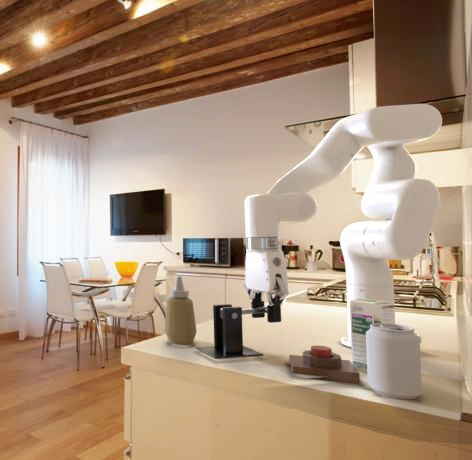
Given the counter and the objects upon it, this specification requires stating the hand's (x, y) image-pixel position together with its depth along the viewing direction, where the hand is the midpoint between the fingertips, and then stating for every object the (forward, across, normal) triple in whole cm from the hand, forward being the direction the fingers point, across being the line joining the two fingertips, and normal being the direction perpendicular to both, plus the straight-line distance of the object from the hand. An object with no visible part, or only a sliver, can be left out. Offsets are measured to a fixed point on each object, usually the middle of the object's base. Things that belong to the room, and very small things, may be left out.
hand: (266, 318), depth 100 cm
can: (+9, -28, -5) cm, 29 cm away
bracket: (+8, 0, +10) cm, 13 cm away
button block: (+8, -16, 0) cm, 18 cm away
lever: (-1, 0, +5) cm, 6 cm away
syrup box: (+9, -16, -13) cm, 22 cm away
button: (+5, -16, -1) cm, 17 cm away
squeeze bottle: (+8, +12, +17) cm, 22 cm away
